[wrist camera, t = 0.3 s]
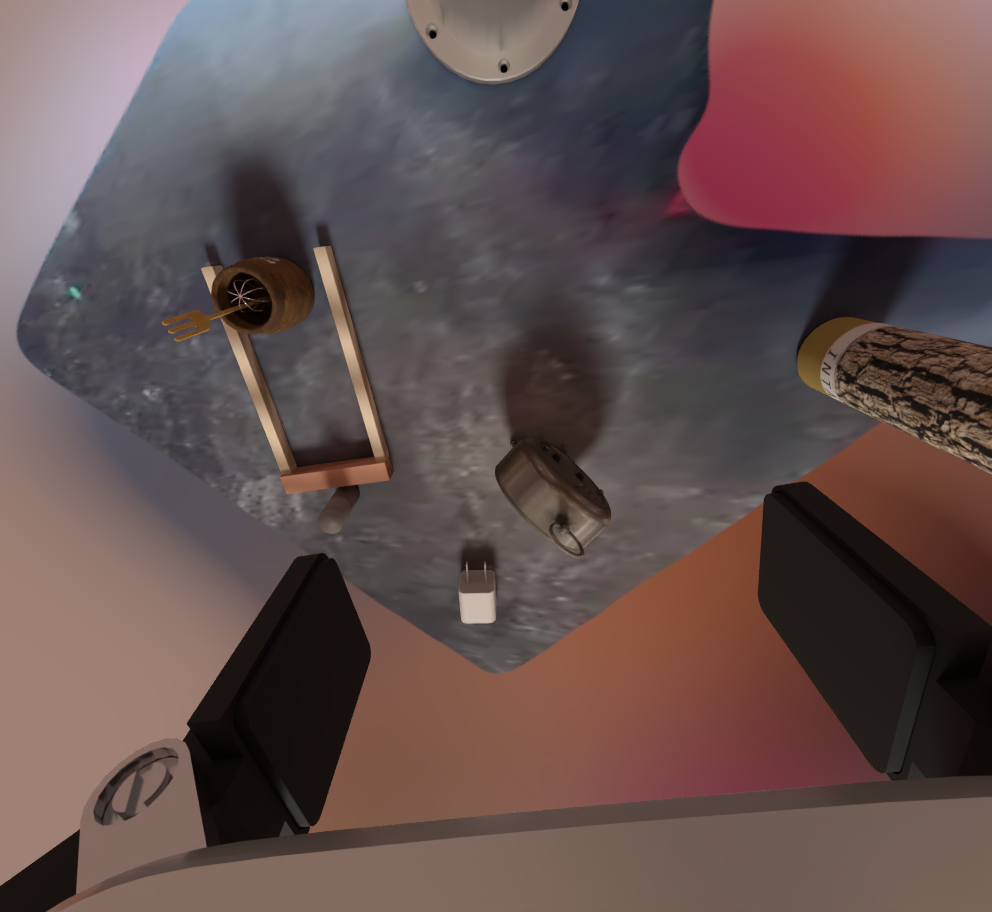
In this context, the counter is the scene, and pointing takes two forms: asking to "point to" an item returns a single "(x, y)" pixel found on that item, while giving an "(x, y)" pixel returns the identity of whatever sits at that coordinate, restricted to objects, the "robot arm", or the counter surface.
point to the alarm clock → (553, 494)
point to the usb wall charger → (477, 595)
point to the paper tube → (907, 382)
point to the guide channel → (292, 476)
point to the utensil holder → (255, 298)
